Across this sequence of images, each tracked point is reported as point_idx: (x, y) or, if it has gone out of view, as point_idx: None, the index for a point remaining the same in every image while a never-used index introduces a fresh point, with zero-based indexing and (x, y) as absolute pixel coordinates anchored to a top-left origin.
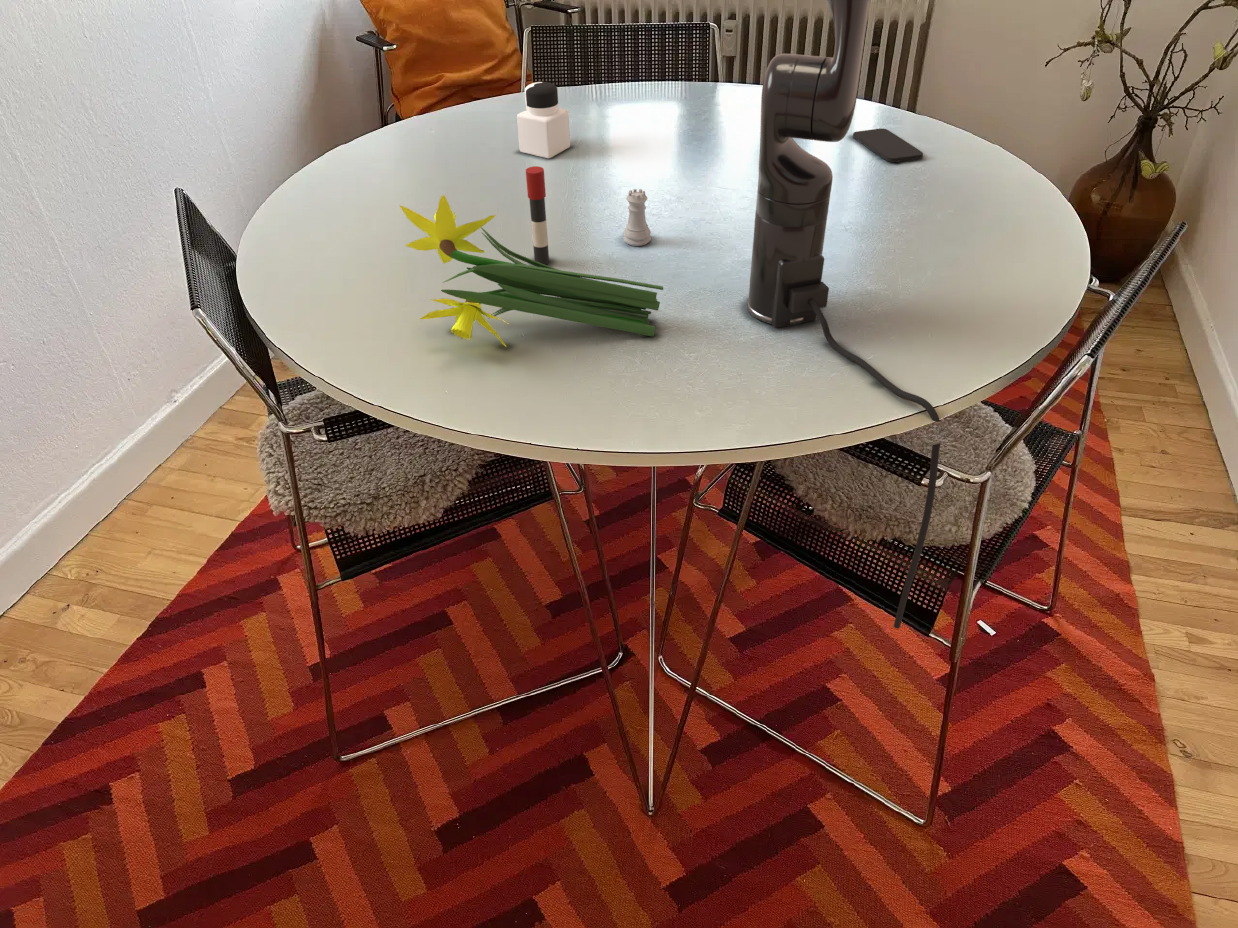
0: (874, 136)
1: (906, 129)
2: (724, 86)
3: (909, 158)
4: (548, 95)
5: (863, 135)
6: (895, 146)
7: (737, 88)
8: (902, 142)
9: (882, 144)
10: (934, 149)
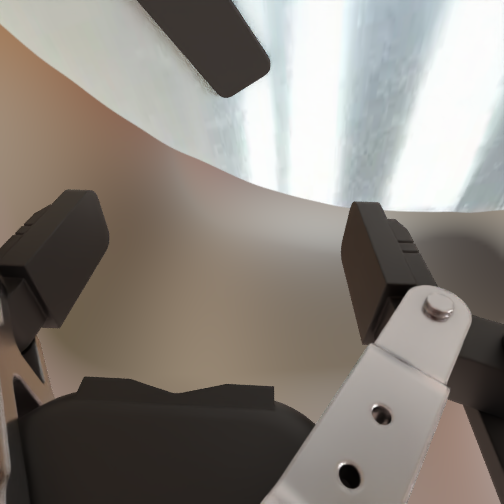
0: (232, 57)
1: (196, 116)
2: (446, 206)
3: None
4: None
5: (251, 58)
6: (185, 12)
7: (430, 203)
8: (180, 39)
9: (211, 18)
10: (128, 40)
